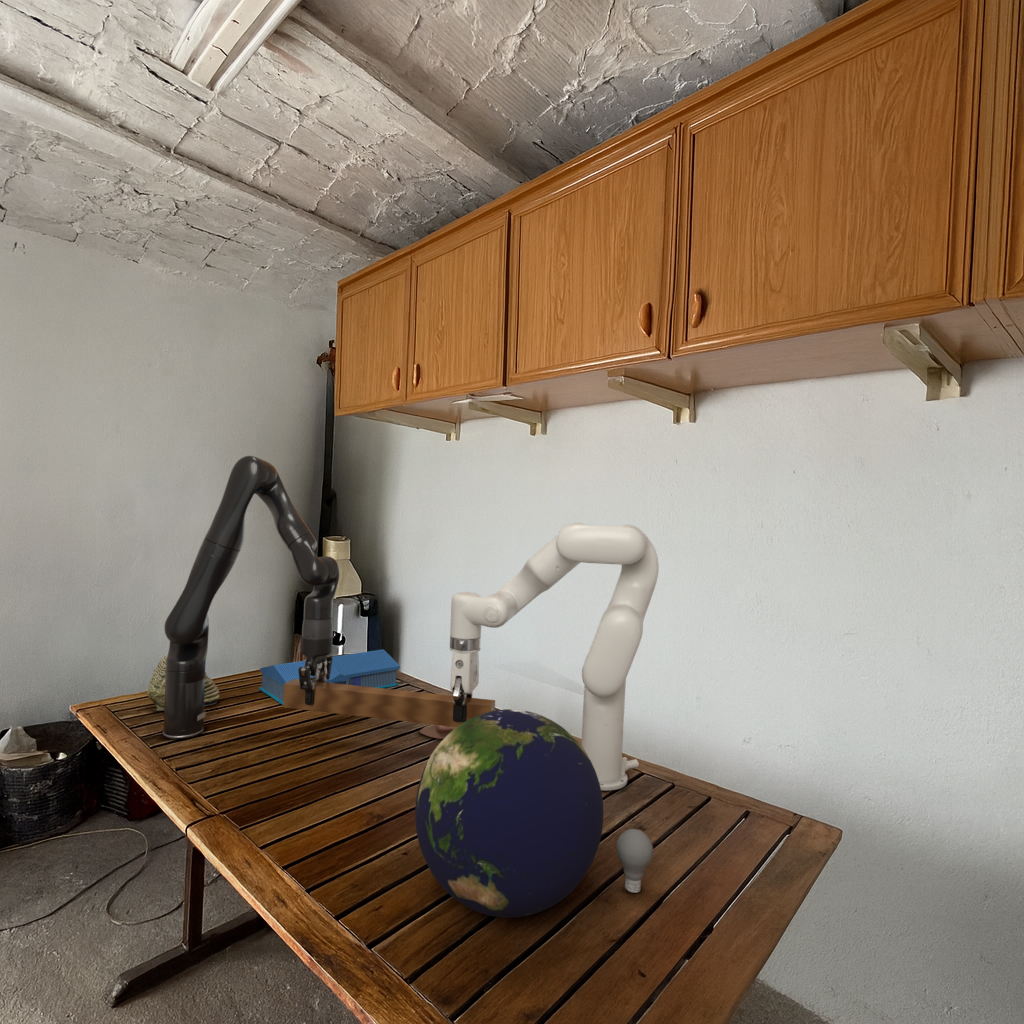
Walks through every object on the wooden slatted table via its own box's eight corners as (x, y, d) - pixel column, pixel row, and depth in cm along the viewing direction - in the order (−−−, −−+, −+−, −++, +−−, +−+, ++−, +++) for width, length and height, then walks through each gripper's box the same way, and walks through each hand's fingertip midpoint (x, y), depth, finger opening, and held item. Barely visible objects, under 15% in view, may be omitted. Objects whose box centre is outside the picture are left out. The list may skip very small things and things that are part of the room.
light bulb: (610, 879, 108) (613, 822, 108) (644, 879, 109) (647, 822, 109) (619, 902, 102) (622, 840, 102) (655, 901, 103) (658, 840, 103)
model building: (289, 709, 186) (291, 675, 185) (258, 688, 204) (259, 657, 204) (403, 687, 212) (405, 657, 212) (366, 670, 230) (368, 643, 230)
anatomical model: (416, 721, 169) (430, 707, 181) (415, 736, 169) (429, 721, 181) (463, 727, 167) (475, 713, 178) (463, 742, 167) (474, 727, 178)
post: (282, 707, 161) (283, 683, 161) (292, 701, 166) (293, 678, 166) (490, 731, 151) (491, 706, 151) (494, 724, 156) (495, 700, 156)
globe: (373, 928, 94) (381, 727, 93) (463, 833, 121) (470, 677, 121) (566, 996, 82) (577, 768, 82) (617, 874, 110) (625, 703, 109)
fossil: (144, 707, 182) (145, 655, 182) (212, 696, 194) (213, 647, 194) (151, 716, 175) (153, 662, 175) (221, 703, 188) (223, 653, 188)
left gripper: (317, 642, 154) (314, 711, 154) (343, 630, 168) (340, 694, 168) (289, 639, 155) (286, 708, 156) (317, 628, 170) (314, 691, 170)
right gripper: (471, 652, 146) (468, 731, 146) (487, 637, 162) (485, 708, 163) (440, 650, 147) (437, 728, 147) (459, 635, 164) (456, 705, 164)
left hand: (314, 700), depth 162 cm, fingers closed on post, 4 cm apart
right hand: (462, 716), depth 155 cm, fingers closed on post, 4 cm apart
